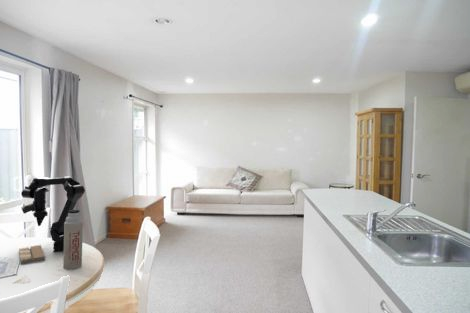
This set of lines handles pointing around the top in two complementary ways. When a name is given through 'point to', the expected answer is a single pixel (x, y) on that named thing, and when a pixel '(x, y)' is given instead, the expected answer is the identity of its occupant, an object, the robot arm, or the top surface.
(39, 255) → the floor panel
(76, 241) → the thermos bottle
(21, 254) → the plank
